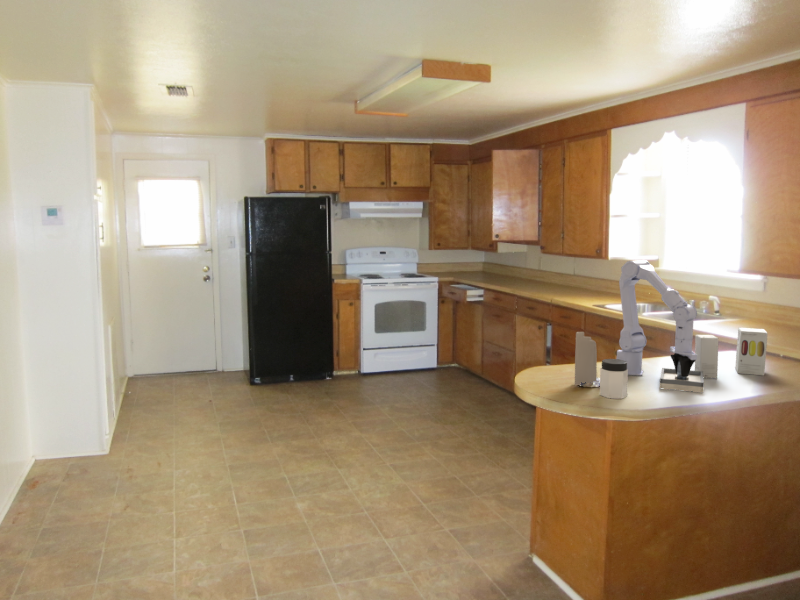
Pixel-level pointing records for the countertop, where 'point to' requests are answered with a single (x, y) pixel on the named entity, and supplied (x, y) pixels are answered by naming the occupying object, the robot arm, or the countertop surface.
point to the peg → (680, 373)
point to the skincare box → (706, 355)
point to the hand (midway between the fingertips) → (681, 375)
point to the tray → (682, 381)
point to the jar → (613, 378)
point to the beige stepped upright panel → (585, 359)
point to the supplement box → (751, 351)
